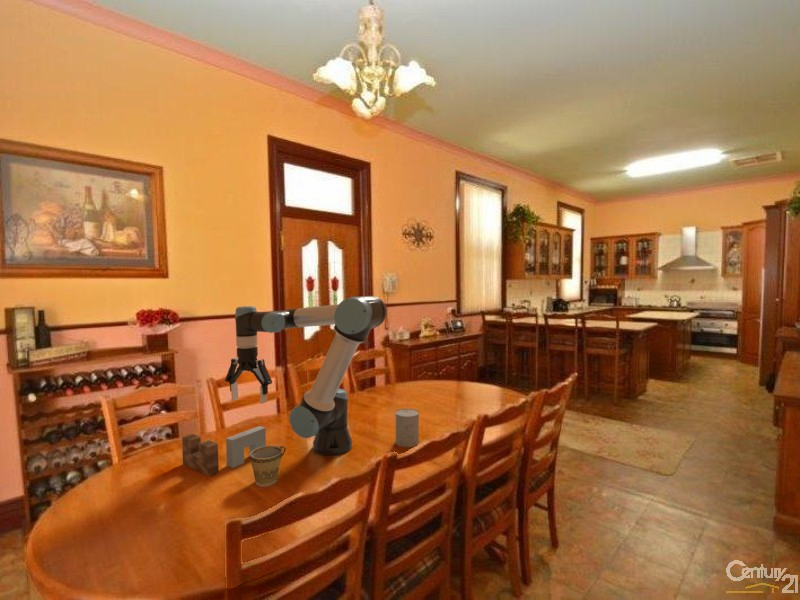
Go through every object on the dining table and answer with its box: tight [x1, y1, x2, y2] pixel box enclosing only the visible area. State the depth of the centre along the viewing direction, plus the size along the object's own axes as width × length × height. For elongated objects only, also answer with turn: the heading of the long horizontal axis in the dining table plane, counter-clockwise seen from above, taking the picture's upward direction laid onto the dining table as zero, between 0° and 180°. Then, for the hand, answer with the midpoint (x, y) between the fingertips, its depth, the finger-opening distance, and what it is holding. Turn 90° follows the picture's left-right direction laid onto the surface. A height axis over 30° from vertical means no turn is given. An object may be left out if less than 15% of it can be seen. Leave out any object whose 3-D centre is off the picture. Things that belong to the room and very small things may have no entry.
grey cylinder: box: [395, 408, 420, 448], centre depth 161 cm, size 10×10×12 cm
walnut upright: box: [181, 433, 220, 477], centre depth 139 cm, size 16×4×10 cm, turn 57°
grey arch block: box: [225, 425, 267, 469], centre depth 146 cm, size 4×14×10 cm, turn 147°
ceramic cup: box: [249, 445, 287, 488], centre depth 131 cm, size 13×10×10 cm
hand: (249, 401), depth 154 cm, fingers open, 13 cm apart
